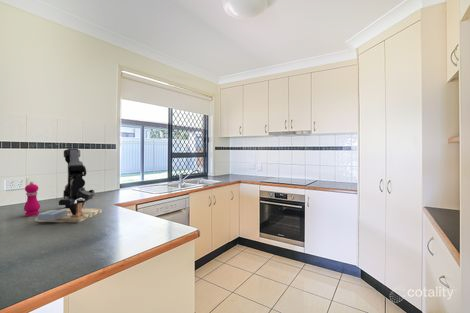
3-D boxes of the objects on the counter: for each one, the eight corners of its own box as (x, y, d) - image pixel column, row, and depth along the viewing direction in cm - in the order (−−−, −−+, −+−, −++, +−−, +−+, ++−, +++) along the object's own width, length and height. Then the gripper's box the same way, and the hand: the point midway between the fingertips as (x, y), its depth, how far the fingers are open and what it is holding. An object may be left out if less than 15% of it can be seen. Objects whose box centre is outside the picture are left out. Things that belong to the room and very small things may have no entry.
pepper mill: (30, 217, 131) (29, 182, 131) (20, 216, 133) (19, 182, 132) (43, 213, 138) (42, 180, 138) (33, 213, 140) (33, 180, 139)
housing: (51, 215, 128) (51, 209, 128) (67, 215, 128) (67, 209, 128) (37, 219, 119) (37, 214, 119) (54, 220, 119) (54, 214, 119)
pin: (76, 218, 129) (76, 202, 129) (82, 218, 129) (82, 202, 129) (71, 220, 126) (71, 204, 125) (78, 220, 126) (77, 204, 125)
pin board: (64, 211, 143) (64, 208, 143) (101, 212, 142) (101, 208, 142) (35, 221, 123) (35, 218, 123) (78, 222, 122) (78, 218, 122)
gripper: (78, 189, 117) (79, 219, 118) (101, 183, 136) (101, 209, 136) (57, 189, 118) (58, 219, 118) (82, 183, 136) (83, 209, 137)
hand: (77, 214), depth 127 cm, fingers closed on pin, 3 cm apart
